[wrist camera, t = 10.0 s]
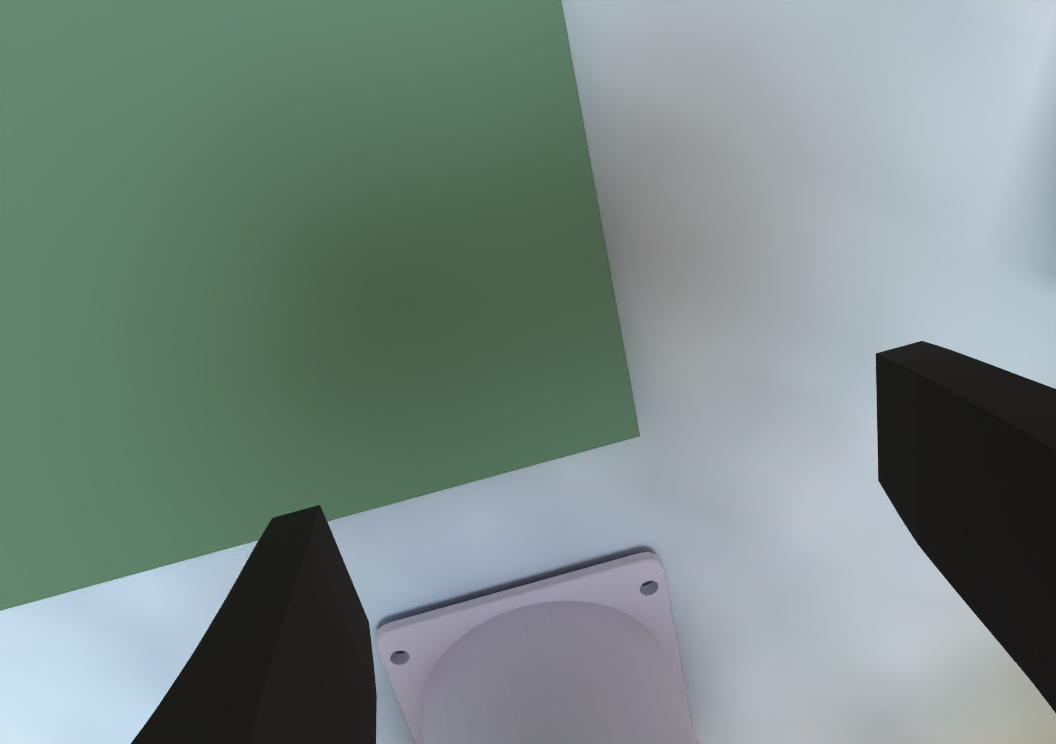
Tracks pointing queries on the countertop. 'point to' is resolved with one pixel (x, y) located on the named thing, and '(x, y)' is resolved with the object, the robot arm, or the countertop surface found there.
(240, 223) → the header board
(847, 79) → the countertop surface
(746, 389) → the countertop surface
